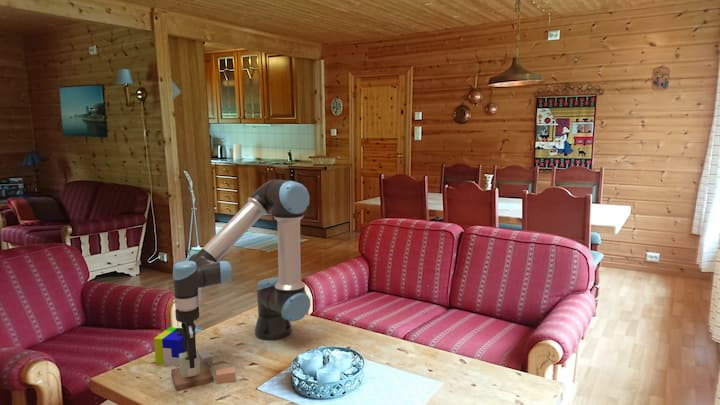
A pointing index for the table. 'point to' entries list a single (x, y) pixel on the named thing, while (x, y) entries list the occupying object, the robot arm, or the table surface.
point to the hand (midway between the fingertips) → (191, 372)
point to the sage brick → (184, 364)
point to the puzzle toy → (169, 346)
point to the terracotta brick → (225, 375)
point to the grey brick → (206, 357)
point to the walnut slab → (192, 377)
